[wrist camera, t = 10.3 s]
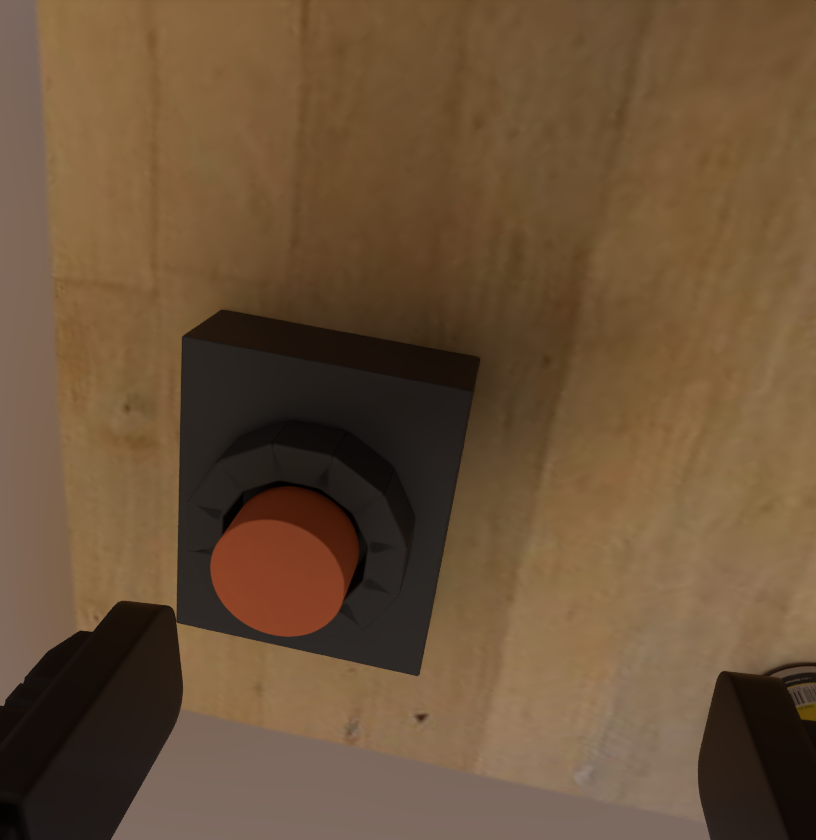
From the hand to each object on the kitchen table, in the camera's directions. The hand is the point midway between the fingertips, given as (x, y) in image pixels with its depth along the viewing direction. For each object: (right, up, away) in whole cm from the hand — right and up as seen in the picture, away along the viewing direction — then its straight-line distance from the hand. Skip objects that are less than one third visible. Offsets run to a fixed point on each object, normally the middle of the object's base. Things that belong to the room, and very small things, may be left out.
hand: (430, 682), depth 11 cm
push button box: (-3, +2, +17) cm, 17 cm away
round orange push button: (-4, 0, +12) cm, 13 cm away
